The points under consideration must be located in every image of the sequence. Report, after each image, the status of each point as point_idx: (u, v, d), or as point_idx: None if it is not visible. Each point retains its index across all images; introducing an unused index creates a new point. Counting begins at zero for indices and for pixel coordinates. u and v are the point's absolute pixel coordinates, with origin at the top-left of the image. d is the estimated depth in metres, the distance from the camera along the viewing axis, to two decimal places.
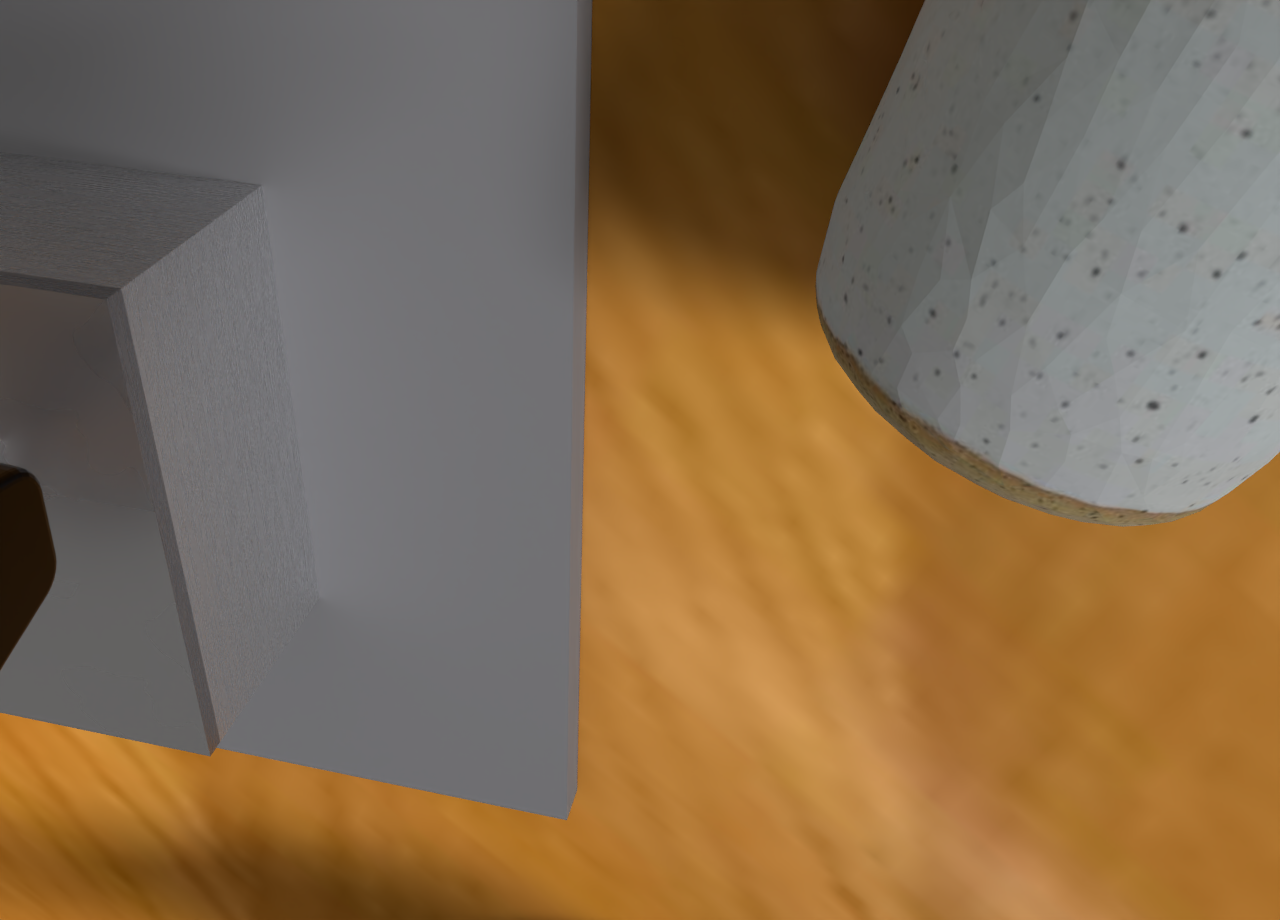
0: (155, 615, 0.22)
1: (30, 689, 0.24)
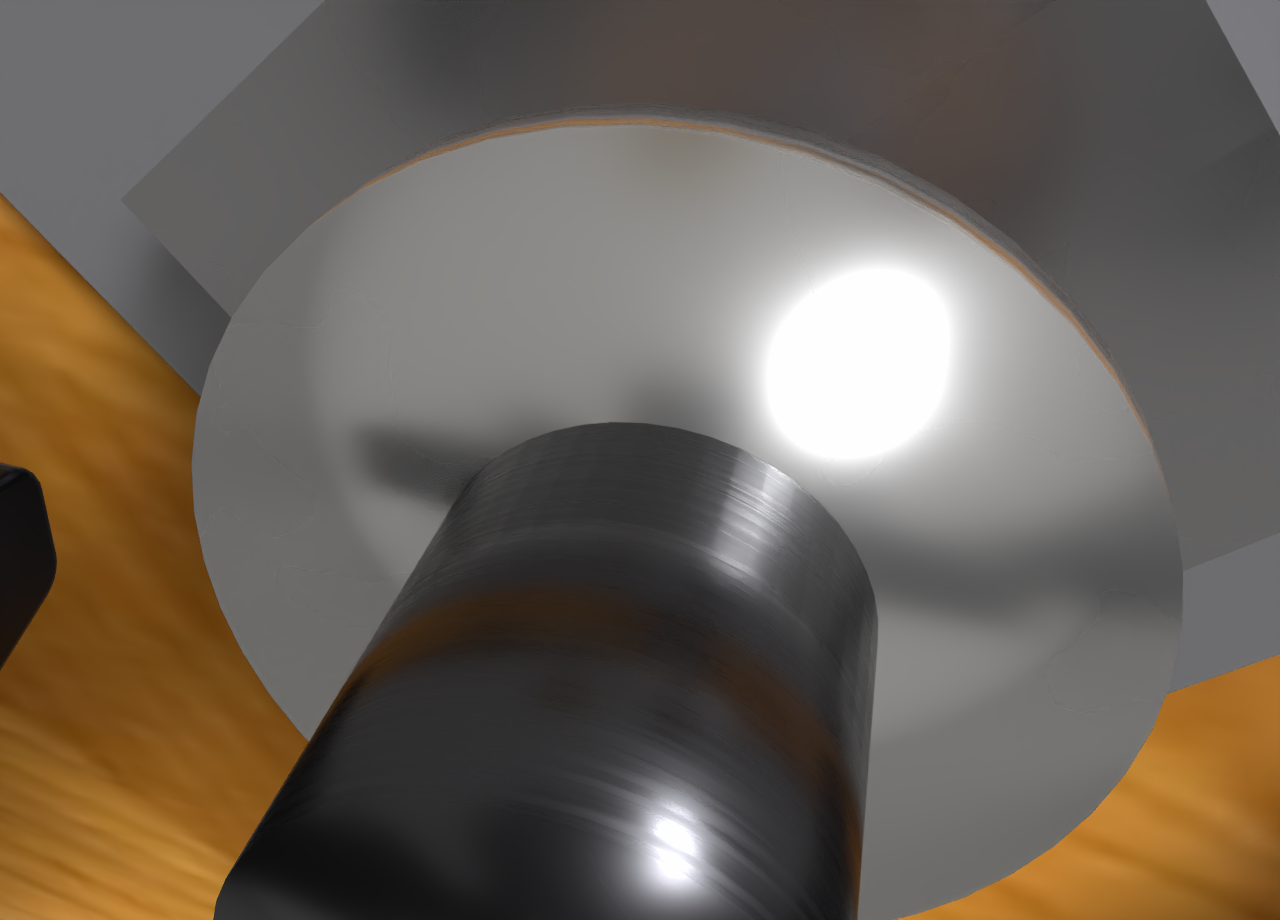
0: (1242, 195, 0.11)
1: None
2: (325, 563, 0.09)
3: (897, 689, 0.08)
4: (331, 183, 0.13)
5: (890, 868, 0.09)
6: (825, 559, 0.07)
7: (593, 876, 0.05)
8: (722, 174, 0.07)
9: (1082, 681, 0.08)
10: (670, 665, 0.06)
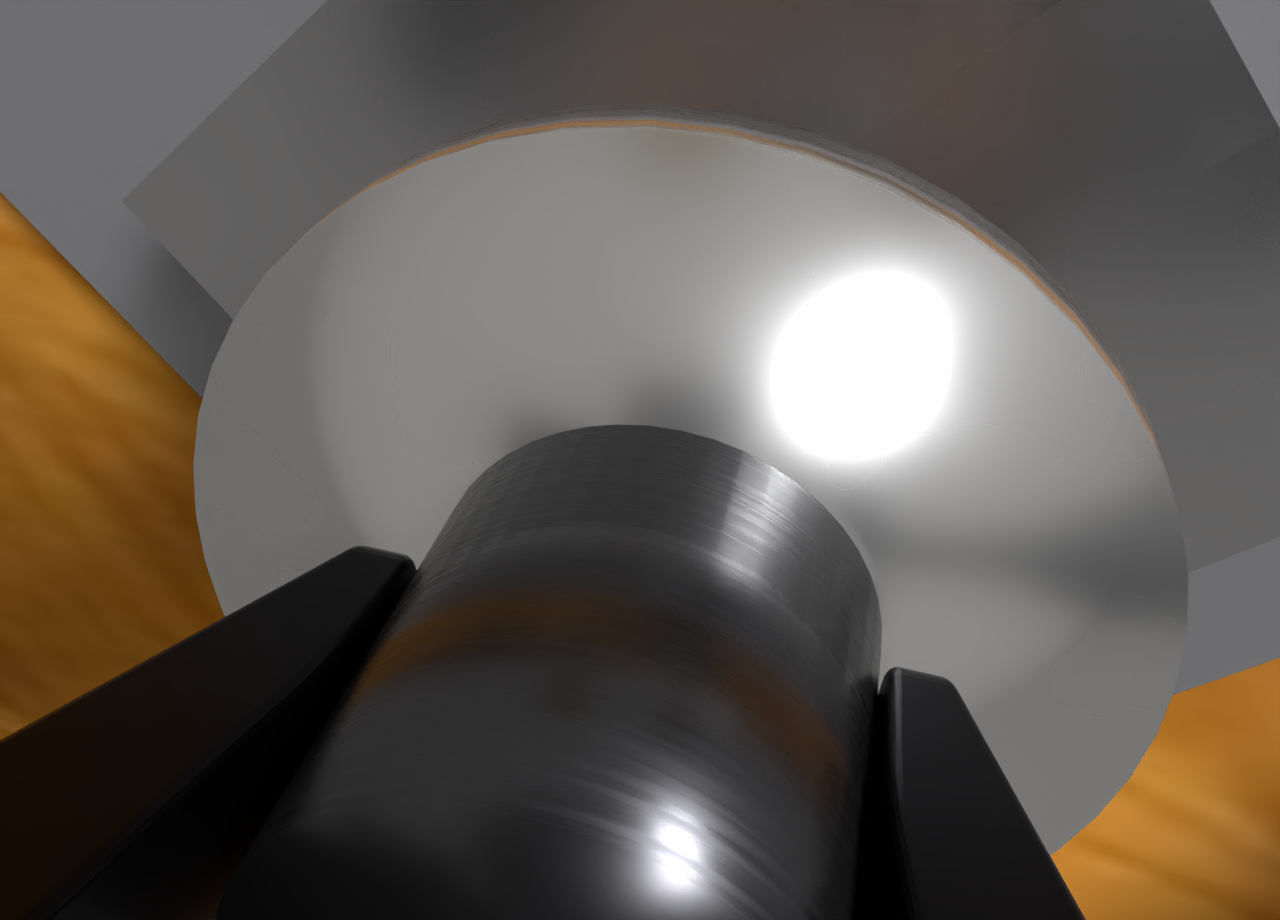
0: (1247, 197, 0.11)
1: None
2: None
3: None
4: (332, 184, 0.13)
5: None
6: (829, 562, 0.07)
7: (597, 883, 0.05)
8: (726, 177, 0.07)
9: (1085, 683, 0.08)
10: (674, 670, 0.06)
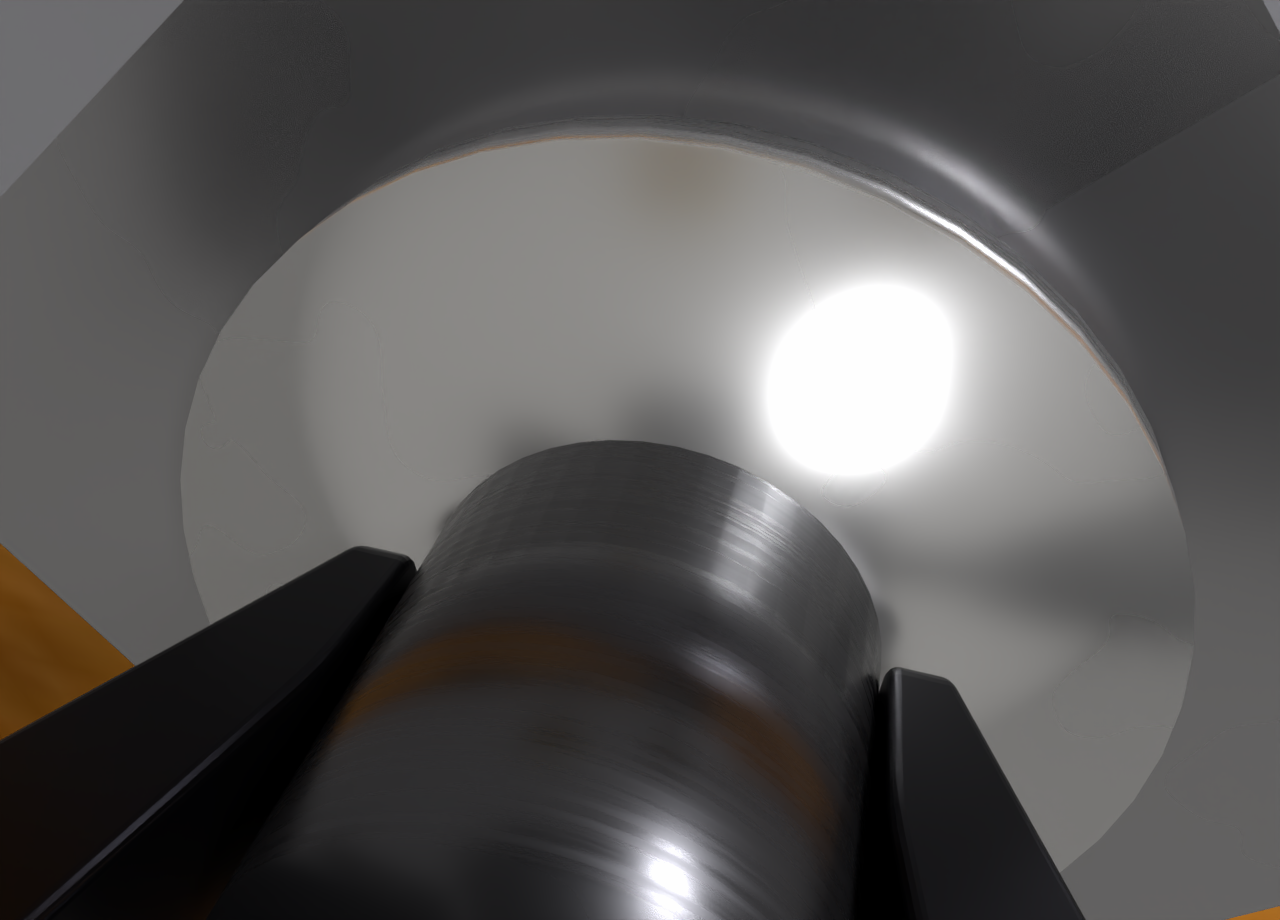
0: None
1: (1099, 871, 0.10)
2: None
3: None
4: (95, 375, 0.09)
5: None
6: (827, 582, 0.07)
7: None
8: (723, 188, 0.06)
9: (1090, 705, 0.08)
10: (669, 697, 0.06)
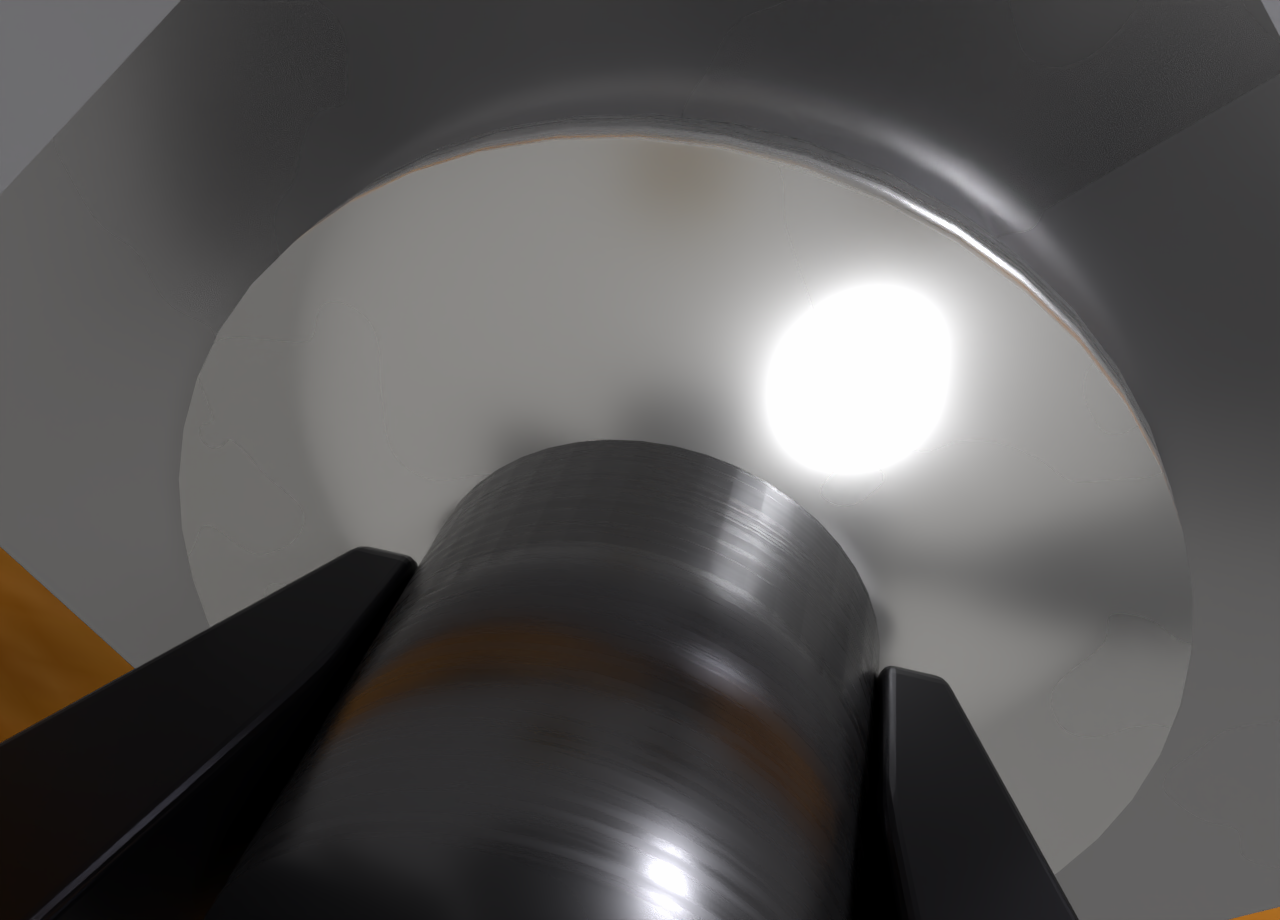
0: None
1: (1098, 872, 0.10)
2: None
3: None
4: (92, 377, 0.09)
5: None
6: (825, 581, 0.07)
7: None
8: (721, 188, 0.06)
9: (1088, 704, 0.08)
10: (667, 696, 0.06)
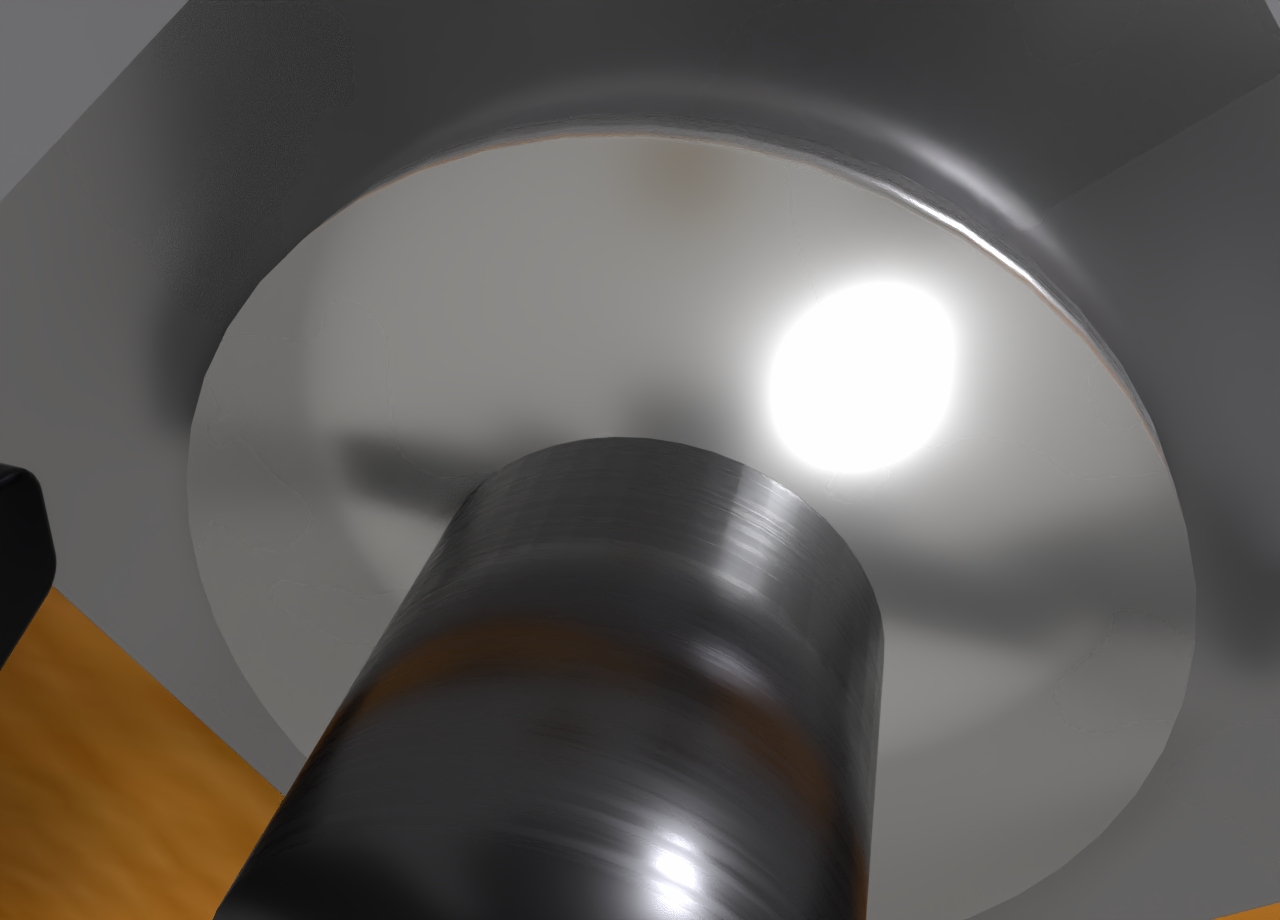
0: None
1: (1101, 867, 0.10)
2: (322, 578, 0.09)
3: (904, 708, 0.08)
4: (99, 374, 0.09)
5: (896, 888, 0.09)
6: (831, 577, 0.07)
7: (594, 912, 0.05)
8: (728, 186, 0.06)
9: (1092, 698, 0.08)
10: (675, 690, 0.06)
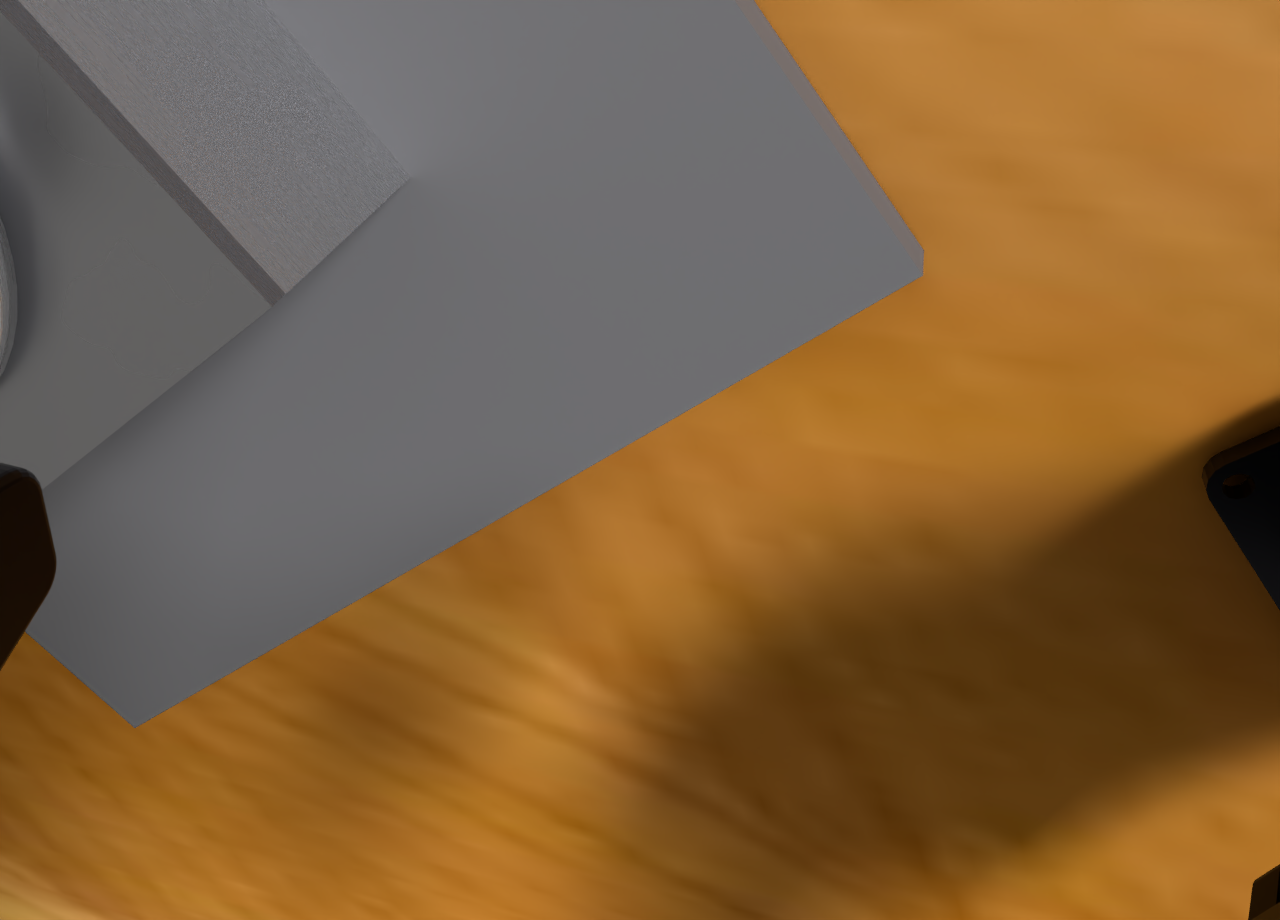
0: (43, 103, 0.15)
1: (67, 387, 0.17)
2: None
3: None
4: None
5: None
6: None
7: None
8: None
9: None
10: None
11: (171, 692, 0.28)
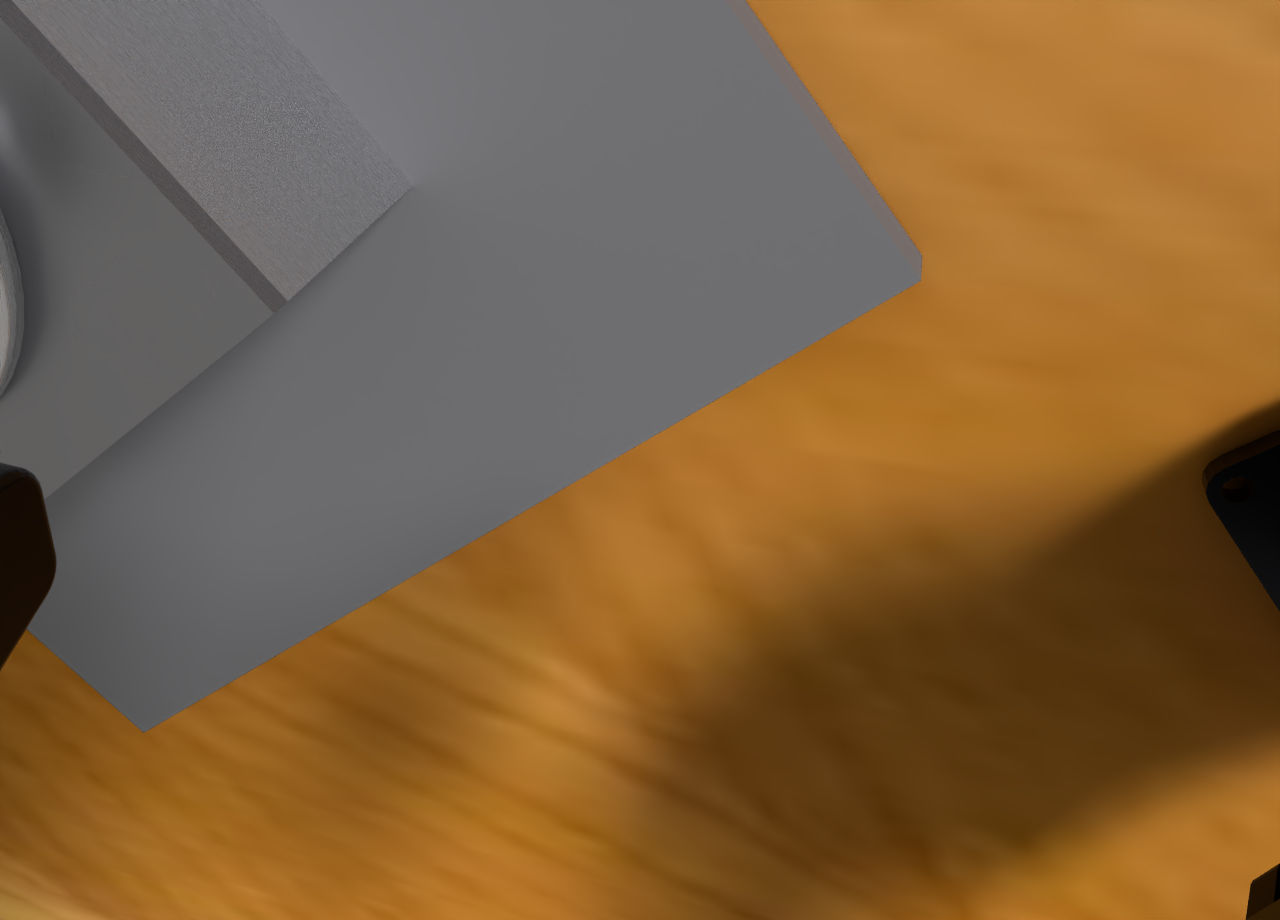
0: (49, 114, 0.15)
1: (73, 394, 0.17)
2: None
3: None
4: None
5: None
6: None
7: None
8: None
9: None
10: None
11: (179, 696, 0.28)
